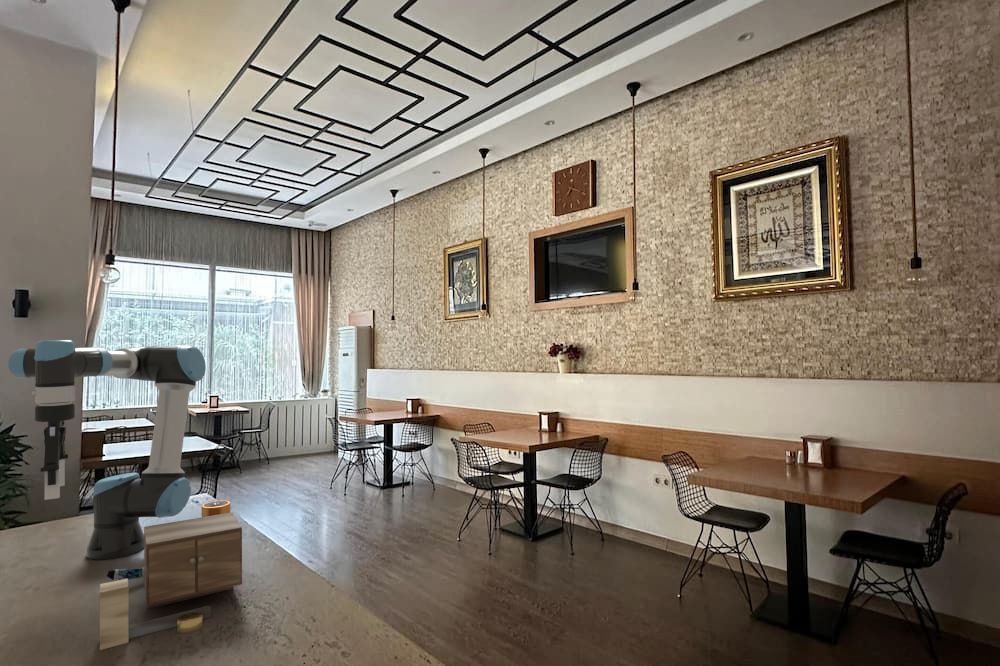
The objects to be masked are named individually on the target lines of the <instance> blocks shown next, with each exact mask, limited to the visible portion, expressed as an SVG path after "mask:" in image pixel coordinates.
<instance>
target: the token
mask: <svg viewBox="0 0 1000 666" xmlns="http://www.w3.org/2000/svg"><path fill="white" fill-rule="evenodd" d="M201 628H203V620H202V614H201V613H189V614H186V615H183V616H181V617H180V618H178V620H177V626H176V633H178V634H181V635H182V634H183V635H185V634H190V633H194V632H197V631H199V630H200V629H201Z"/></svg>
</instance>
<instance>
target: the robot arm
mask: <svg viewBox="0 0 1000 666" xmlns="http://www.w3.org/2000/svg"><path fill="white" fill-rule="evenodd" d="M75 344H76V343H75V341H73V340H71V339H65V340H64V339H55V340H53V339H52V340H47V339H44V340H38V341H37V342H36V343H35V348H32V347H27V348H19V349H16V350H14V351H13V352H12V353H11V354H10V355H9V357H8V362H7V363H8V365H7V367H8V370H9V371H10V373H11V374H12V375H13V376H16V377H18V378H27V379H29V378H35V379H34V382H35V384H34V385H35V386H34V387H35V389H34V390H32V392H31V395H32V396H35V397H34V401H35V404H37V405H36V406H35V407H34V420H35V422H37V423H40V422H41V423H46V422H47V427H44V430H43V436H44V440H43V441H44V442H43V443H44V457H43V458H44V460H43V463H44V465H43V467H40V472H41V473H42V472H43V473H44V501H46V500H54V499H55V500H56V499H60V497H61V487H65V486H66V484H65V483H66V482H65V481H66V480H65V479H66V477H65V476H66V474H65V472H66V471H65V469H66V464H65V463H66V459H69V454H68V453H66V449H65V448H66V447H65V446H66V445H65V444H66V443H65V441H66V433H67V426H65V421H70V420H72V419H74V418H75V417H76V414H75V413H76V411H75V409H76V408H75V406H76V405H75V404H74V403H73V402H75V401H76V384H75V382H76V381H75V378H86V377H87V378H88V377H94V378H95V377H106V376H107V377H110V376H111V377H112V376H113V377H115V378H117V379H120V380H121V379H124V380H125V379H127V380H128V379H129V380H136V381H137V380H138V381H147V382H154V387H156V389H157V390H158V397H157V403H156V411H155V412H156V413H155V417H154V418H155V419H154V425H153V426H154V427H153V433H152V440H151V446H150V447H151V448H150V454H149V461H148V462H149V463H148V467H147V468H146V469H145V470H143V471H142V472H141V478H140V474H139V473H138V472H127V473H122V474H117V475H112V476H108V477H105V478H102V479H100V480H98V481H96V482H95V483H94V485H93V486H94V487H93V495H92V497H93V499H92V500H93V531H92V534H91V536H90V539H89V542H88V544H87V547H86V557H87V559H89V560H90V559H91V560H110V559H116V558H121V557H125V556H129V555H132V554H135V553H138V552H139V551H142V550H144V530H143V529H142V526H141V524H140V518H159V519H160V518H167V517H168V518H169V517H175V516H177V515H179V514H180V513H181V512H182V511H183V510H184V509H185V508H186V505H187V504H188V502H189V499H190V497H191V492H192V486H191V482H190V480H189V479H188V478H186V477H185V473H186V472H185V471H184V470H183V469H182V468H181V462H182V456H183V455H182V453H183V447H184V439H185V438H184V437H185V430H186V423H187V422H186V421H187V415H188V414H187V413H188V407H189V400H190V399H189V398H190V392H192V391H193V390H194V389H195V388H196V385H197V384H196V383H197V382H200V381H201V380H202V379H204V376H205V375H206V360H205V356H204V355H203V352H201V350H200V349H199V348H197V347H196V346H194V345H183V344H180V345H148V346H140V347H132V348H131V347H129V348H127V347H126V348H124V347H122V348H119V349H115V350H107V349H105V348H103V347H96V346H94V347H92V346H91V347H76V346H75Z"/></svg>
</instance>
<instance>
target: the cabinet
mask: <svg viewBox="0 0 1000 666" xmlns="http://www.w3.org/2000/svg"><path fill="white" fill-rule="evenodd" d="M143 528H144V529H143V534H144V548H143V552H144V553H143V555H144V556H143V559H144V560H143V563H144V564H143V567H144V577H143V582H144V583H143V584H144V596H145V606H146V609H151V608H152V609H153V608H155V607H160V606H165V605H169V604H173V603H177V602H181V601H186V600H190V599H194V598H199V597H203V596H208V595H211V594H217V593H220V592H225V591H228V590H232V589H233V590H234V587H236V586H240V585H243V526H242V525H241V524H240V522H239V520H238V519H237V517H236V516H235V514H234V513H233V512H231V511H230V513H225V514H219V515H213V516H207V517H202V516H201V517H195V518H189V519H183V520H178V521H177V520H176V521H171V522H167V523H166V522H165V523H158V524H154V525H146V526H144V527H143Z"/></svg>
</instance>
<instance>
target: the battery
mask: <svg viewBox="0 0 1000 666" xmlns="http://www.w3.org/2000/svg"><path fill="white" fill-rule="evenodd" d="M225 513H231V501H229V500H214V501H209V502H206V503H203V504H202V505H201V517H207V516H213V515H219V514H225Z"/></svg>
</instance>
